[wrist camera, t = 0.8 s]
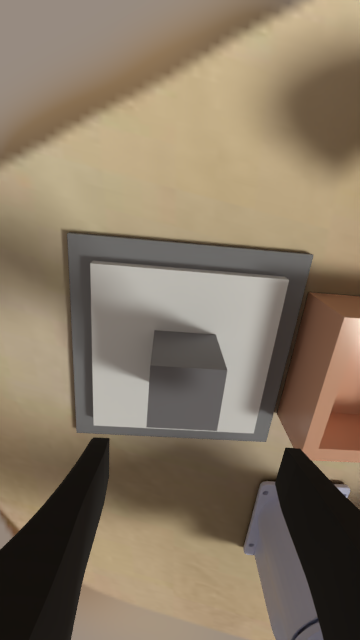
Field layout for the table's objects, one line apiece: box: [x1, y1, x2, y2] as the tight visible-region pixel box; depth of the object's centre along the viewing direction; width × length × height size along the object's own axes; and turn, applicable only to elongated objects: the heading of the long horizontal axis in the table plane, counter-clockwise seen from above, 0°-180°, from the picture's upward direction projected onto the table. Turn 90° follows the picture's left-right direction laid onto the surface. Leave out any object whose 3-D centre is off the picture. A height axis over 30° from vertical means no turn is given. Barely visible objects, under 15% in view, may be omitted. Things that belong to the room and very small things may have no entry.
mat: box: [67, 232, 313, 442], centre depth 21 cm, size 15×15×1 cm
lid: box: [90, 261, 289, 434], centre depth 19 cm, size 12×12×5 cm
